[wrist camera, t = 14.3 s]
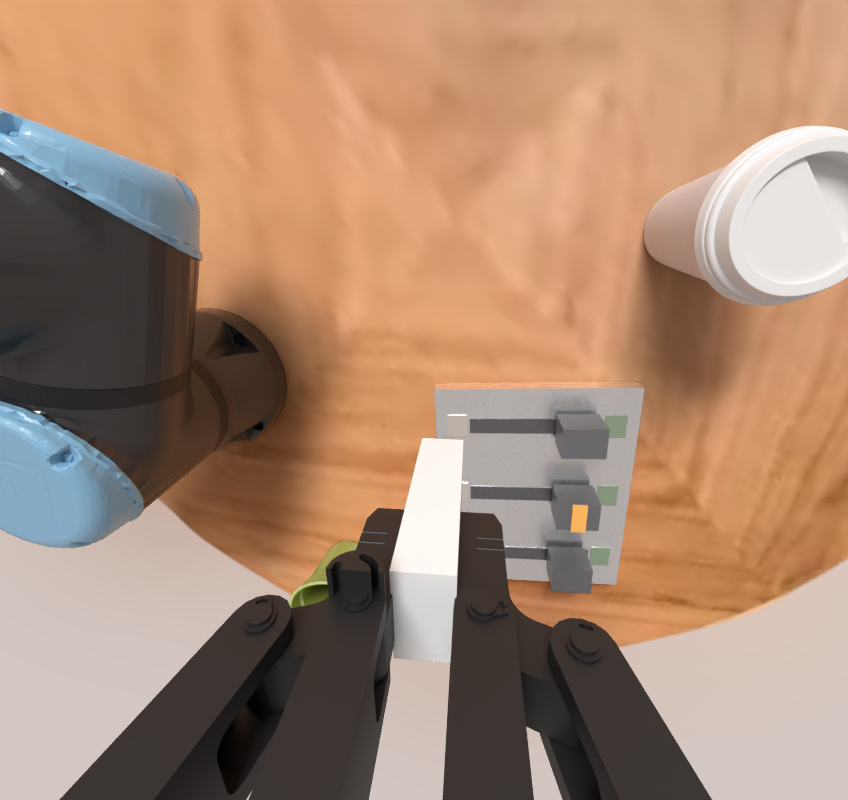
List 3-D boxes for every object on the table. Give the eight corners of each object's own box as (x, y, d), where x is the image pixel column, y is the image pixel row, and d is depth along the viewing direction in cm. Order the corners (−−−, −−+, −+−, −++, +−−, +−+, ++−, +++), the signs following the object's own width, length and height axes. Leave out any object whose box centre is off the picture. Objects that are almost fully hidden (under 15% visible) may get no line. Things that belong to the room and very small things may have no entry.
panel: (443, 563, 53) (442, 576, 51) (436, 383, 44) (434, 389, 42) (610, 571, 50) (616, 585, 48) (637, 381, 41) (645, 388, 39)
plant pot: (385, 592, 56) (369, 652, 48) (316, 581, 56) (289, 638, 48) (389, 535, 52) (372, 590, 44) (315, 524, 53) (286, 576, 45)
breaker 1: (554, 441, 42) (561, 458, 39) (556, 414, 41) (563, 429, 38) (596, 442, 42) (606, 459, 38) (599, 414, 41) (609, 429, 37)
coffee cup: (745, 268, 37) (908, 286, 23) (630, 296, 39) (715, 329, 25) (743, 148, 34) (929, 85, 20) (618, 185, 36) (708, 151, 22)
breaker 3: (546, 567, 48) (551, 591, 45) (547, 546, 47) (552, 569, 44) (582, 569, 47) (590, 593, 44) (585, 547, 46) (593, 571, 43)
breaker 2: (550, 508, 45) (557, 531, 41) (552, 484, 44) (558, 506, 40) (589, 509, 44) (599, 533, 41) (592, 485, 43) (602, 507, 40)
